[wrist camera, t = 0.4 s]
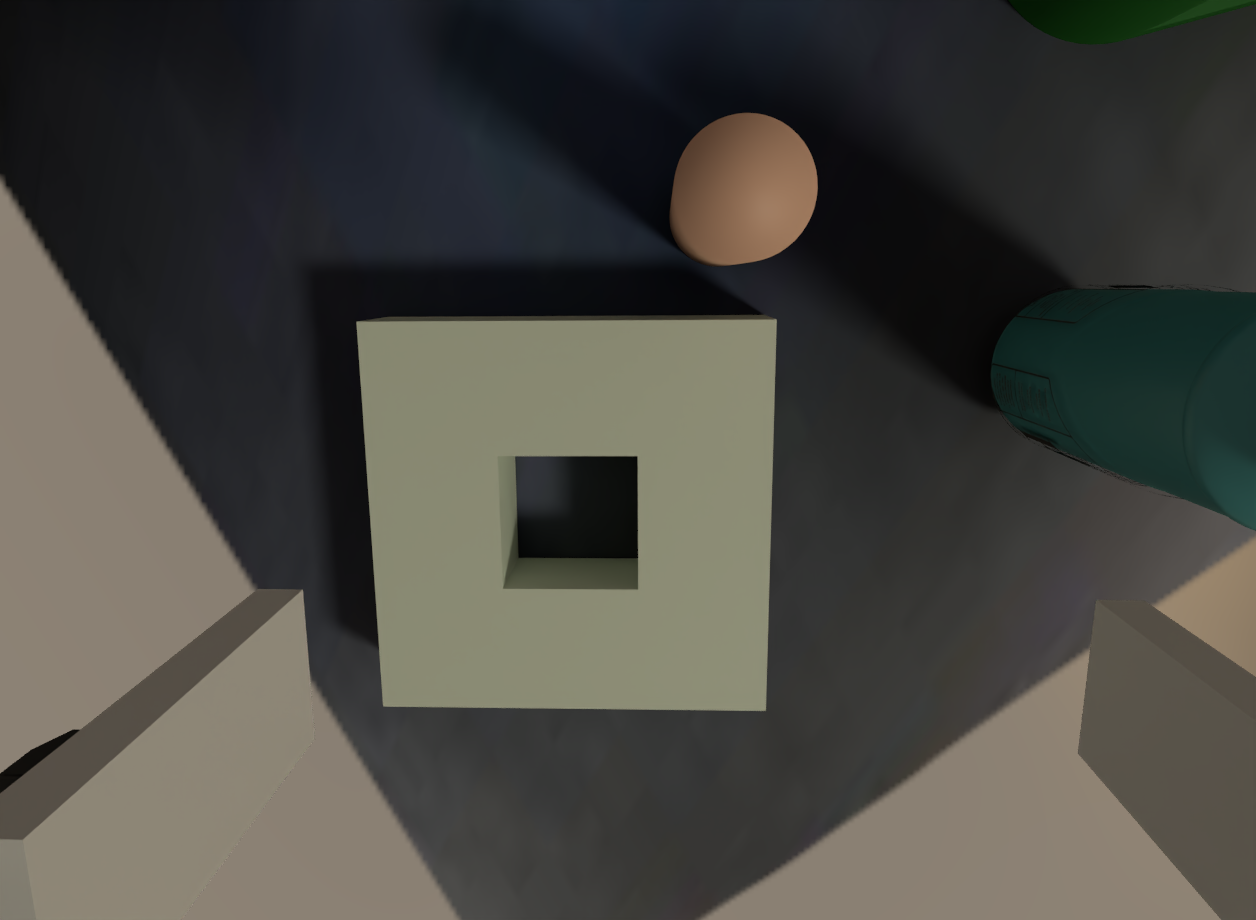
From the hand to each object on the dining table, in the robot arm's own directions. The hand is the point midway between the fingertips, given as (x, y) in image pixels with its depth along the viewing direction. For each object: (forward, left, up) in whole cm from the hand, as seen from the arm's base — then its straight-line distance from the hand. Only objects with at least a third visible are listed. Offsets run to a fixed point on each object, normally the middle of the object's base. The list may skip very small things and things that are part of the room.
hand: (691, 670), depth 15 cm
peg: (-9, +2, -24) cm, 26 cm away
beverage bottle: (-3, +16, -24) cm, 29 cm away
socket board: (+3, -4, -24) cm, 25 cm away
